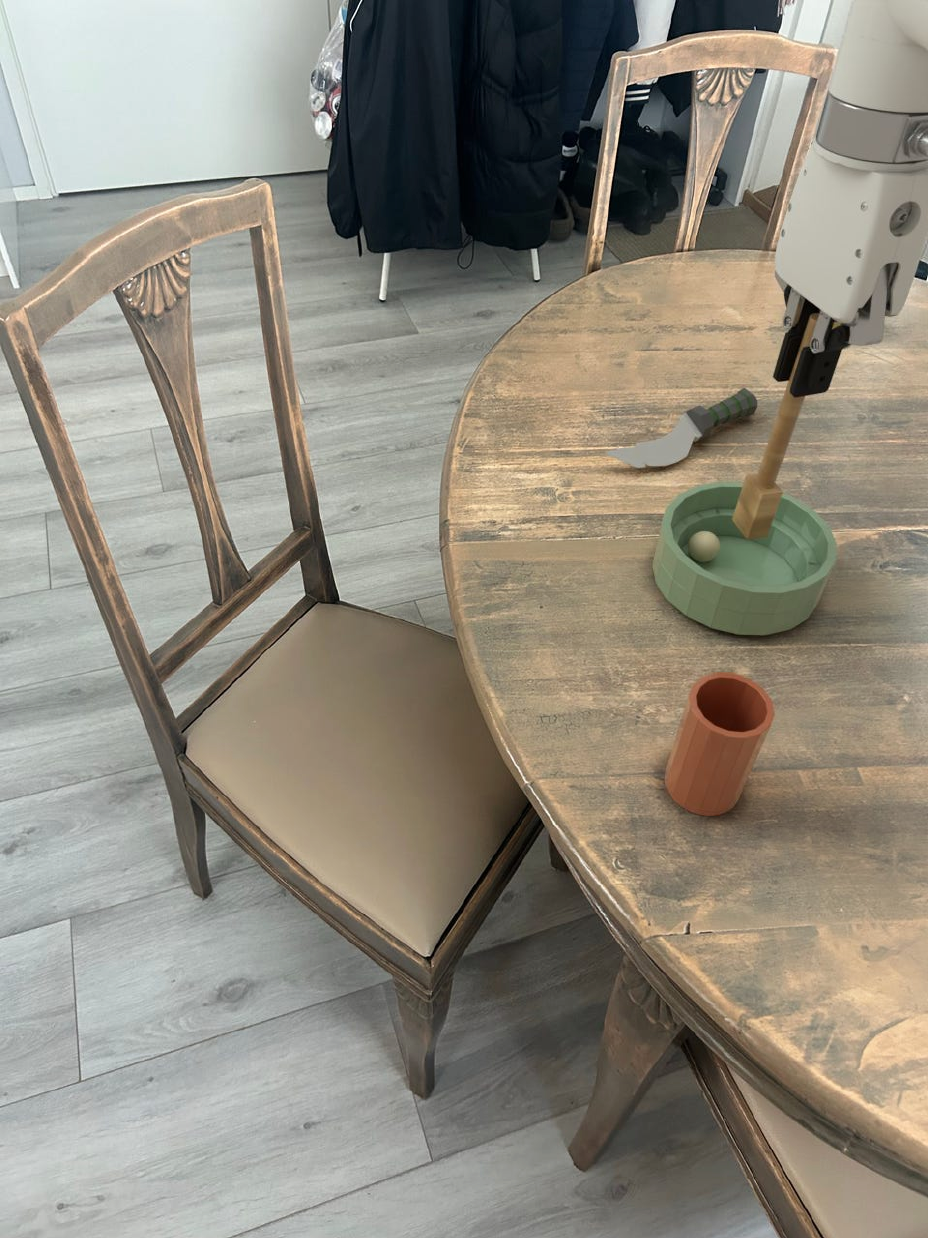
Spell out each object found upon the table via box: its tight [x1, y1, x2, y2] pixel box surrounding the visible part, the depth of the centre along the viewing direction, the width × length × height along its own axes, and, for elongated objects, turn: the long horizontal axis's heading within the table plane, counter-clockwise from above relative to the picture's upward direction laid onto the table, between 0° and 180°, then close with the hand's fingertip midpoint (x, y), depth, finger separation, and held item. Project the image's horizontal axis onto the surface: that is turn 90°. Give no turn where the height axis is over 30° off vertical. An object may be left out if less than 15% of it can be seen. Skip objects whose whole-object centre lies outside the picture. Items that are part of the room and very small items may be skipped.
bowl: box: [651, 481, 838, 636], centre depth 83 cm, size 16×16×6 cm
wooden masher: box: [732, 313, 820, 540], centre depth 72 cm, size 3×2×20 cm, turn 14°
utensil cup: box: [664, 671, 776, 817], centre depth 65 cm, size 6×6×10 cm
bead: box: [688, 531, 720, 562], centre depth 85 cm, size 3×3×3 cm
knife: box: [604, 387, 758, 469], centre depth 99 cm, size 22×4×5 cm
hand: (799, 384), depth 69 cm, fingers closed on wooden masher, 1 cm apart
